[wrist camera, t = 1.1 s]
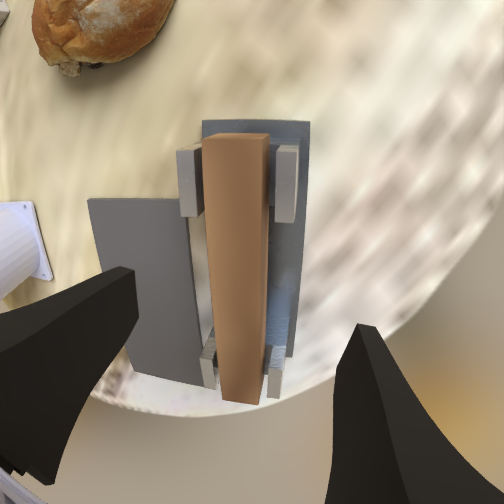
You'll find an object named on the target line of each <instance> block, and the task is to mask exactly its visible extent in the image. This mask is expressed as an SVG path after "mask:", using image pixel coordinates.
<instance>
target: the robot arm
mask: <svg viewBox="0 0 504 504" xmlns="http://www.w3.org/2000/svg"><path fill="white" fill-rule="evenodd" d="M29 276H30V277H34V278H38V279H43V280H47V281H51V280H52V279H53V275H52V272H51V268H50V265H49V262H48V259H47V255H46V252H45V248H44V245H43V241H42V237H41V234H40V230H39V226H38V221H37V217H36V213H35V208H34V205H33V203H32V202H31V201H17V202H0V301H1V300H2V299H3V298H5V297H6V296H7V295H8V294H9V293H10V292H11V291H13V290H14V289H15V288H16V287H17V286H18V285H20V284H21V283H22V282H23V281H24V280H26V279H27V278H28V277H29ZM138 319H139V309H138V300H137V290H136V279H135V270H133V269H129V268H126V267H122V266H118V267H115V268H112V269H110V270H107V271H105V272H103V273H101V274H98V275H96V276H94V277H92V278H90V279H87V280H85V281H83V282H81V283H79V284H77V285H74V286H72V287H70V288H68V289H66V290H64V291H61V292H59V293H56V294H54V295H52V296H49V297H47V298H45V299H42V300H40V301H38V302H35V303H32V304H30V305H27V306H24V307H21V308H18V309H15V310H12V311H9V312H5V313H1V314H0V504H47V503H46V502H44V501H43V500H42V499H40V498H39V497H37V496H36V495H35V494H33V493H32V492H31V491H29V490H28V489H27V488H25V487H24V486H23V485H21V484H20V483H19V482H18V481H16V480H15V479H14V478H13V477H11V476H10V475H11V473H12V471H13V470H15V471H16V472H17V473H18V474H20V475H21V476H23V475H24V474H25V472H28V473H29V474H30V475H31V476H33V477H34V478H35V479H37V480H38V481H39V482H41V483H42V484H44V485H52V484H54V483H55V478H56V475H57V471H58V468H59V464H60V461H61V458H62V455H63V452H64V449H65V446H66V444H67V441H68V439H69V436H70V434H71V431H72V429H73V427H74V425H75V422H76V420H77V418H78V416H79V414H80V412H81V410H82V408H83V406H84V404H85V402H86V400H87V398H88V396H89V395H90V393H91V391H92V390H93V388H94V386H95V385H96V384H97V382H98V381H99V379H100V378H101V376H102V375H103V374H104V372H105V371H106V369H107V368H108V367H109V365H110V364H111V362H112V361H113V360H114V358H115V357H116V355H117V354H118V353H119V351H120V350H121V348H122V347H123V346H124V344H125V343H126V341H127V340H128V338H129V336H130V334H131V332H132V331H133V329H134V327H135V325H136V323H137V321H138ZM325 504H504V493H503V492H501V491H500V490H499V489H497V488H496V487H495V486H493V485H492V484H491V483H489V481H487V480H486V479H485V478H484V477H483V476H482V475H481V474H480V473H479V472H478V471H477V470H476V469H474V468H473V467H472V466H471V465H470V464H469V463H468V462H467V461H466V460H465V459H464V457H463V456H462V455H461V454H460V453H459V452H458V451H457V450H456V449H455V447H454V446H453V445H452V444H451V443H450V442H449V441H448V439H447V438H446V437H445V436H444V435H443V433H442V432H441V431H440V429H439V428H438V427H437V425H436V424H435V423H434V421H433V420H432V419H431V417H430V416H429V415H428V413H427V412H426V410H425V409H424V408H423V406H422V404H421V403H420V401H419V400H418V398H417V397H416V395H415V394H414V392H413V391H412V389H411V387H410V386H409V384H408V382H407V381H406V379H405V377H404V376H403V374H402V372H401V371H400V369H399V367H398V365H397V364H396V362H395V360H394V358H393V357H392V355H391V353H390V351H389V350H388V348H387V346H386V344H385V342H384V341H383V339H382V337H381V335H380V334H379V332H378V330H377V329H376V327H374V326H369V325H363V324H358V323H357V325H356V327H355V329H354V332H353V334H352V336H351V338H350V340H349V342H348V345H347V347H346V349H345V351H344V353H343V355H342V357H341V359H340V361H339V363H338V365H337V368H336V377H335V385H334V394H333V454H332V466H331V472H330V479H329V484H328V490H327V495H326V499H325Z"/></svg>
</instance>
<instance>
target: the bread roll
mask: <svg viewBox="0 0 504 504" xmlns="http://www.w3.org/2000/svg"><path fill="white" fill-rule="evenodd" d="M174 2H175V0H35V2H34V8H33V14H32V32H33V35H34V38H35V41H36V43H37V45H38V47H39V54H40V56H42V57H43V58H44V59H45V60H46V61H47V63H48V65H50V66H53V65H58V66H59V71H60V72H61V73H62V74H63V75H67V76H70V77H76V76H80V75H81V74H80V71H81V69H80V67H81V66H82V65H88V66H89V68H91V69H94V70H96V69H98V68H100V67H102V65H103V64H104V63H108V64H109V63H116V62H119V61H122V60H123V59H125V58H127V57H129V56H130V57H131V56H133V54H134V53H136V52H137V51H139V50H140V49H141V48H143V47H144V46H145V45H147V44H148V43H149V42H150V41H151V40H153V39H154V38H155V37H156V34H157V32H158V31H159V30H160V28H161V27H162V25H163V24H164V23H165V22H166V18H167V16H168V13H169V11H170V10H171V8H172V6H173V4H174Z"/></svg>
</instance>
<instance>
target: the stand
mask: <svg viewBox="0 0 504 504" xmlns="http://www.w3.org/2000/svg"><path fill="white" fill-rule="evenodd" d="M218 133H264V134H270V172H269V228H268V270H267V305H266V335H265V362H264V374H266V375H268V389H267V397H268V398H277V399H279V397H280V391H281V384H282V377H283V371H284V364H285V357H292V355H293V347H294V338H295V329H296V320H297V311H298V301H299V291H300V281H301V270H302V258H303V246H304V233H305V219H306V204H307V187H308V167H309V144H310V121H298V120H273V119H218V120H202V137H203V138H206V137H209V136H212V135H215V134H218ZM176 159H177V174H178V187H179V200H180V211H181V217H198V216H199V215H200V214H201V213H202V212H203V211H204V210H205V206H204V188H203V167H202V143H201V141H199V142H197V143H194V144H192V145H189V146H186V147H184V148H181V149H179V150H176ZM200 364H201V370H202V376H203V381H204V387H205V388H209V389H214V390H216V389H217V386H218V383H219V380H220V375H219V367H218V358H217V349H216V340H215V330H214V326H213V328H212V330H211V333H210V335H209V337H208V340H207V342H206V344H205V347H204V349H203V351H202V354H201V356H200Z"/></svg>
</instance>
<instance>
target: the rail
mask: <svg viewBox="0 0 504 504" xmlns="http://www.w3.org/2000/svg"><path fill="white" fill-rule="evenodd" d="M201 143H202V167H203V188H204V206H205V222H206V237H207V251H208V264H209V276H210V288H211V299H212V310H213V320H214V330H215V340H216V349H217V358H218V367H219V375H220V384H221V392H222V400H226V401H232V402H239V403H245V404H252V405H258V404H259V399H260V395H261V390H262V385H263V380H264V362H265V335H266V305H267V270H268V228H269V172H270V134H264V133H218V134H215V135H212V136H209V137H206V138H203V139H201Z"/></svg>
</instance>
